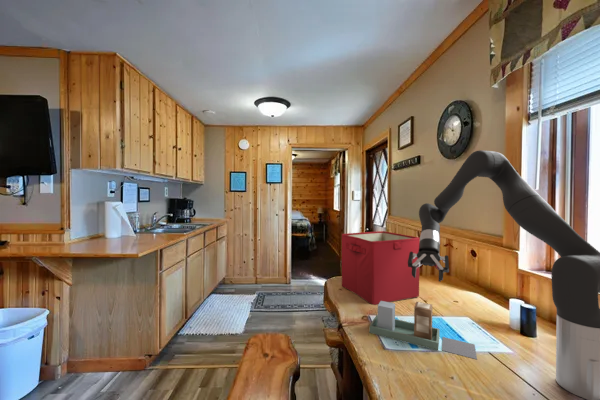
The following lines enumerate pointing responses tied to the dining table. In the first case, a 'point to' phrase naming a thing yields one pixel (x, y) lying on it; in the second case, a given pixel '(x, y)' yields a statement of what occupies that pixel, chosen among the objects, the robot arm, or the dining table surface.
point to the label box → (423, 320)
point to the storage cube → (379, 266)
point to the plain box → (386, 315)
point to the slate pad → (459, 348)
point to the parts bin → (406, 333)
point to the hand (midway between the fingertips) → (426, 278)
